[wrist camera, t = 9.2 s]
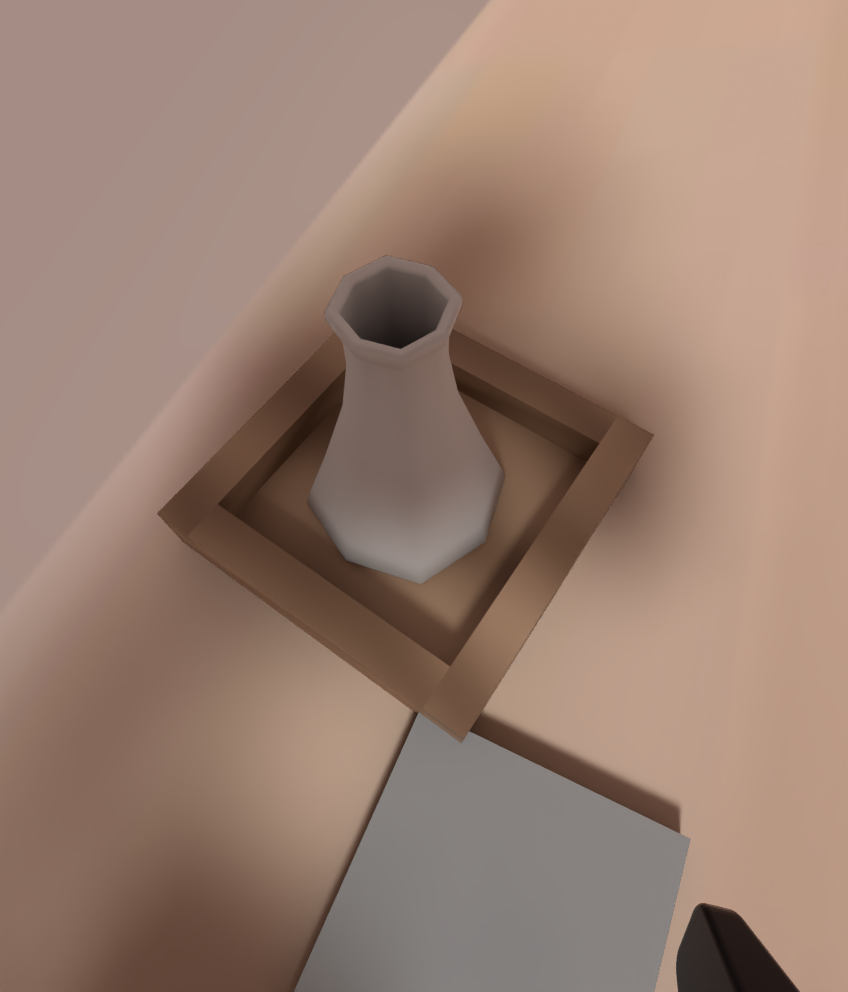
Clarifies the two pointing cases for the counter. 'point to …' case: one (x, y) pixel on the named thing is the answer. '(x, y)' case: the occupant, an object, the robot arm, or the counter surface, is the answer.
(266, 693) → the counter surface
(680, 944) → the robot arm
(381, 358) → the flask
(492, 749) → the slate coaster
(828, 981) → the counter surface
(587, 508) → the tray
